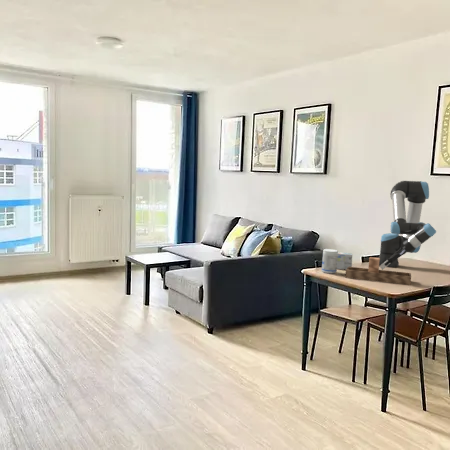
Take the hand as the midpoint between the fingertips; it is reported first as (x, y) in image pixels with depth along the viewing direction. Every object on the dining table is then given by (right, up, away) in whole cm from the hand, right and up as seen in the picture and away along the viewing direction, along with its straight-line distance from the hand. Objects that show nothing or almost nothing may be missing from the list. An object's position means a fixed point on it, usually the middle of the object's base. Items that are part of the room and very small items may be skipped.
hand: (380, 267), depth 296 cm
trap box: (-1, -7, +2) cm, 8 cm away
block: (-4, -4, +2) cm, 6 cm away
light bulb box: (-16, -4, +31) cm, 35 cm away
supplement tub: (-28, -5, +17) cm, 34 cm away
